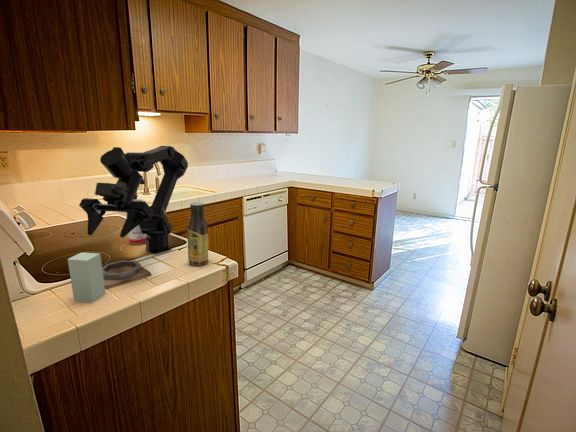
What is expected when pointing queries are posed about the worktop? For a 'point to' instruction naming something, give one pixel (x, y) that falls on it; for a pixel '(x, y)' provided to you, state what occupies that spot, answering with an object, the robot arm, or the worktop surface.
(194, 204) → the sauce bottle
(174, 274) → the worktop surface
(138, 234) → the beer can
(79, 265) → the sage block
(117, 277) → the seat ring
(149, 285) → the worktop surface
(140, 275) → the seat board
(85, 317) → the worktop surface
